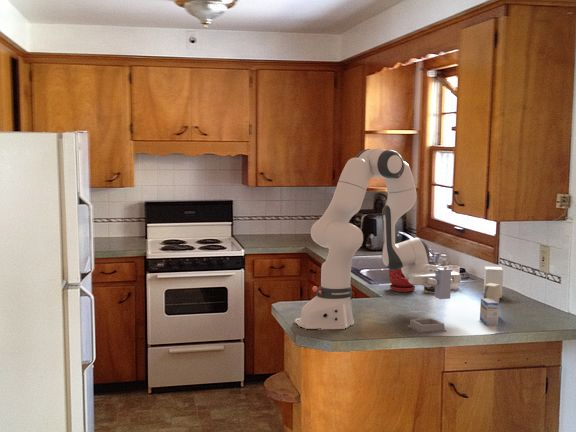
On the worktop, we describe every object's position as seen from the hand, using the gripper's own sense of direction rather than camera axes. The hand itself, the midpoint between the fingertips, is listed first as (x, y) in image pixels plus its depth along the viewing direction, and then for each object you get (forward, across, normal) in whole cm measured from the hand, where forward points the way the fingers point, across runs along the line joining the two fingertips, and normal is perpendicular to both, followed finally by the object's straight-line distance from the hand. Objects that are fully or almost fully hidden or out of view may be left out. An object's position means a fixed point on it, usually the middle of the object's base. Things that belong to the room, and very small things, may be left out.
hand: (444, 282), depth 265 cm
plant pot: (-60, +12, +16) cm, 63 cm away
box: (-6, +24, +16) cm, 30 cm away
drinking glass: (-58, +36, +16) cm, 70 cm away
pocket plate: (+3, -8, +16) cm, 19 cm away
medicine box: (+2, +18, +16) cm, 25 cm away
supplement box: (-38, +45, +16) cm, 61 cm away
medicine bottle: (-54, +24, +16) cm, 61 cm away
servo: (-1, 0, +6) cm, 6 cm away
